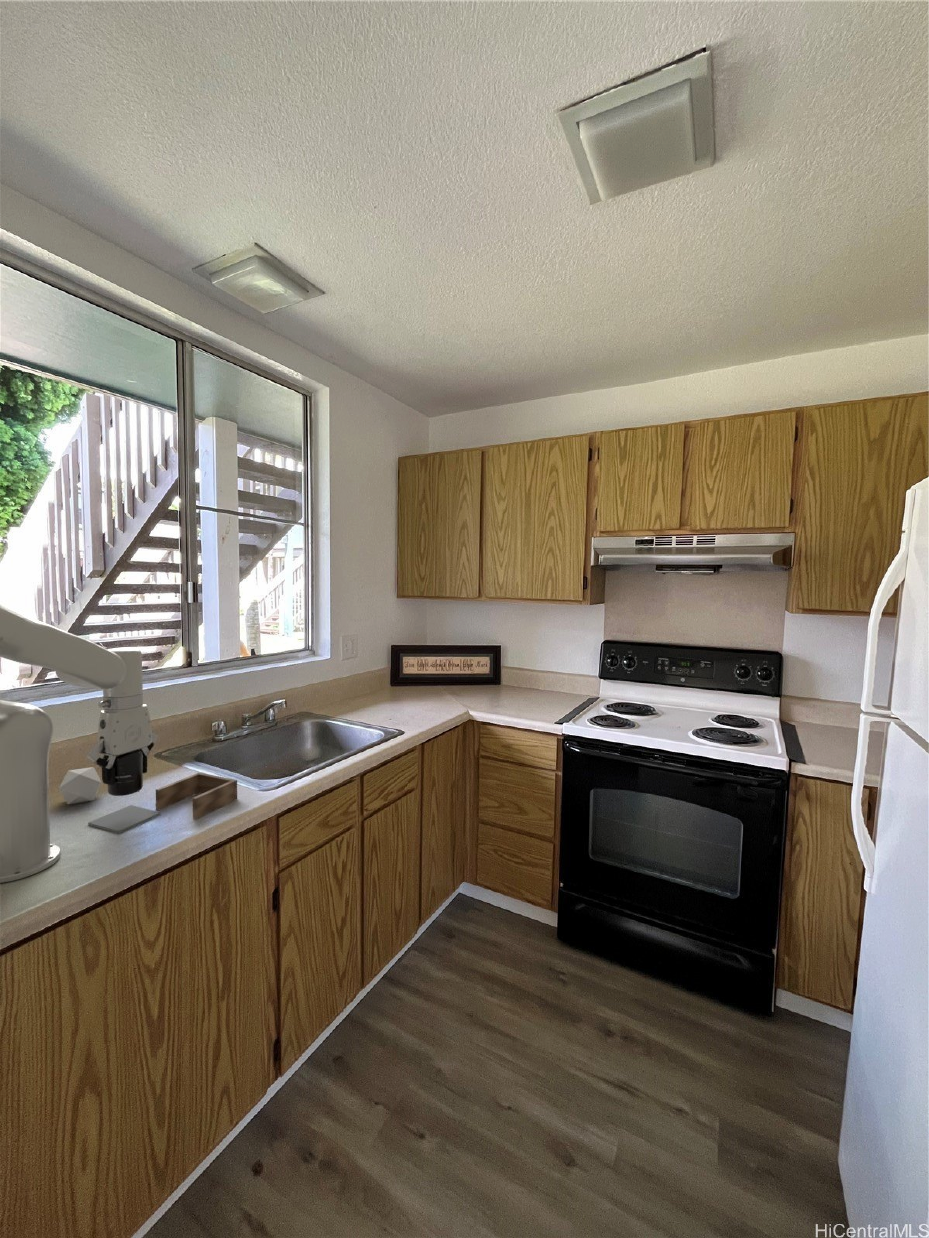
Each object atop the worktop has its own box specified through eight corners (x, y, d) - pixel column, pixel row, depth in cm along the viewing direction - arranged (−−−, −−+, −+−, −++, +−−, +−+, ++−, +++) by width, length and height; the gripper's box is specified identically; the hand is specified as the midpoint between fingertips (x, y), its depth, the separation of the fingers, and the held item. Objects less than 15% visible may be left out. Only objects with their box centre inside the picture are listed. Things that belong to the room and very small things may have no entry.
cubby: (196, 819, 118) (195, 798, 118) (155, 809, 122) (155, 789, 122) (237, 799, 130) (237, 780, 129) (199, 790, 134) (199, 772, 134)
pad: (119, 833, 110) (119, 830, 110) (88, 825, 114) (88, 822, 114) (160, 814, 120) (160, 812, 120) (131, 807, 123) (131, 804, 123)
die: (105, 793, 133) (81, 764, 132) (114, 785, 128) (89, 755, 127) (72, 815, 126) (46, 785, 125) (80, 807, 121) (54, 776, 120)
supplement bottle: (117, 799, 112) (116, 746, 111) (101, 792, 115) (100, 741, 115) (149, 788, 118) (148, 738, 117) (133, 782, 121) (132, 733, 121)
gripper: (95, 712, 106) (98, 795, 107) (169, 695, 122) (171, 767, 123) (71, 708, 108) (74, 789, 110) (147, 692, 125) (149, 763, 126)
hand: (125, 777), depth 117 cm, fingers closed on supplement bottle, 6 cm apart
